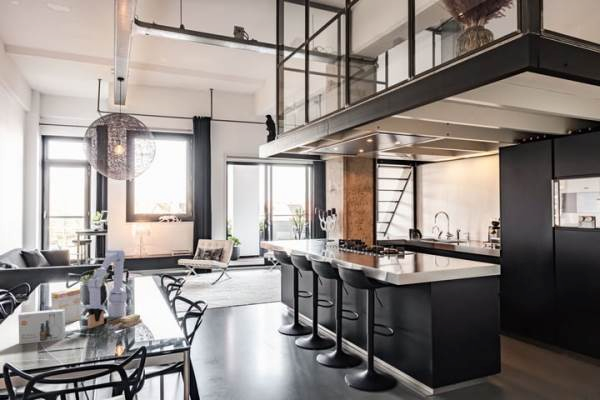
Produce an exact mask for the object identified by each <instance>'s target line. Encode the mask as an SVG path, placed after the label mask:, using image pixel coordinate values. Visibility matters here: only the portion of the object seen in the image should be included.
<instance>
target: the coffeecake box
mask: <svg viewBox="0 0 600 400" xmlns="http://www.w3.org/2000/svg"><path fill="white" fill-rule="evenodd" d="M50 294H51V295H50V297H51V310H58V309H65V325H66V324H69V323H73V322H77V321H80V320H82V309H81V308H82V307H81V306H82V304H81V289H79V288H72V289H70V288H69V289H65V290H60V291H56V292H55V291H54V292H52V293H50Z"/></svg>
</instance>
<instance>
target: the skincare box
mask: <svg viewBox="0 0 600 400" xmlns="http://www.w3.org/2000/svg"><path fill="white" fill-rule="evenodd" d="M65 338H66V324H65V309H58V310H52V309H47V310H36V311H35V310H34V311H24V312H20V313H18V344H19V345H22V344H23V345H24V344H34V343H44V342H53V341H63V340H64V339H65Z"/></svg>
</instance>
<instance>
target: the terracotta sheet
mask: <svg viewBox="0 0 600 400" xmlns="http://www.w3.org/2000/svg"><path fill="white" fill-rule="evenodd" d="M104 313H105V312H104V311H102V313H101V315H100V319H99V321H98V322H96V321H95V315H94V314H92V315H90V314H89V315H87V328H88V329H92V328H95V327H98V326H101V325H103V324H104V323H105V320H104V319H105V315H104ZM104 325H105V324H104Z"/></svg>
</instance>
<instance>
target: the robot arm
mask: <svg viewBox="0 0 600 400" xmlns="http://www.w3.org/2000/svg"><path fill="white" fill-rule="evenodd" d="M125 253H126V252H125V251H124V250H123V249H107V250H106V252H105V254H104V257H105V258H104V260H103V262H102V264H101V266H100V267H98V268H96V270H95V273H94V274H93V276H92V277H91V278H89V279H88V280H87V283H86V286H87V288H88V291H89V304H85V305H84V309H86V310H87V312H88V314H89V315H92V314H94V315H95V321H96V322H98V321H99V319H100V315H101V313H102V312H104V311H105V310H107V309H108V311H107V312H108V313H107V315H108V317H112V318H122V317H123V316H124V317H125V303H126V302H127V299H128V295H127V290H126V289H124V288H123V283H124V282H123V281H124V262H125V258H126V257H125V256H126V255H125ZM112 263H113V264H114V270H113V271H114V275H113V288H112V289H111V290H110V291H109V295H108V301H109V303H110V304H109V305H108V307H107V306H106V305H102V304H101V287H102V286H103V282H104V278H105V277H106V274H107V269H108V268H109V267H110V265H111V264H112Z"/></svg>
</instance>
